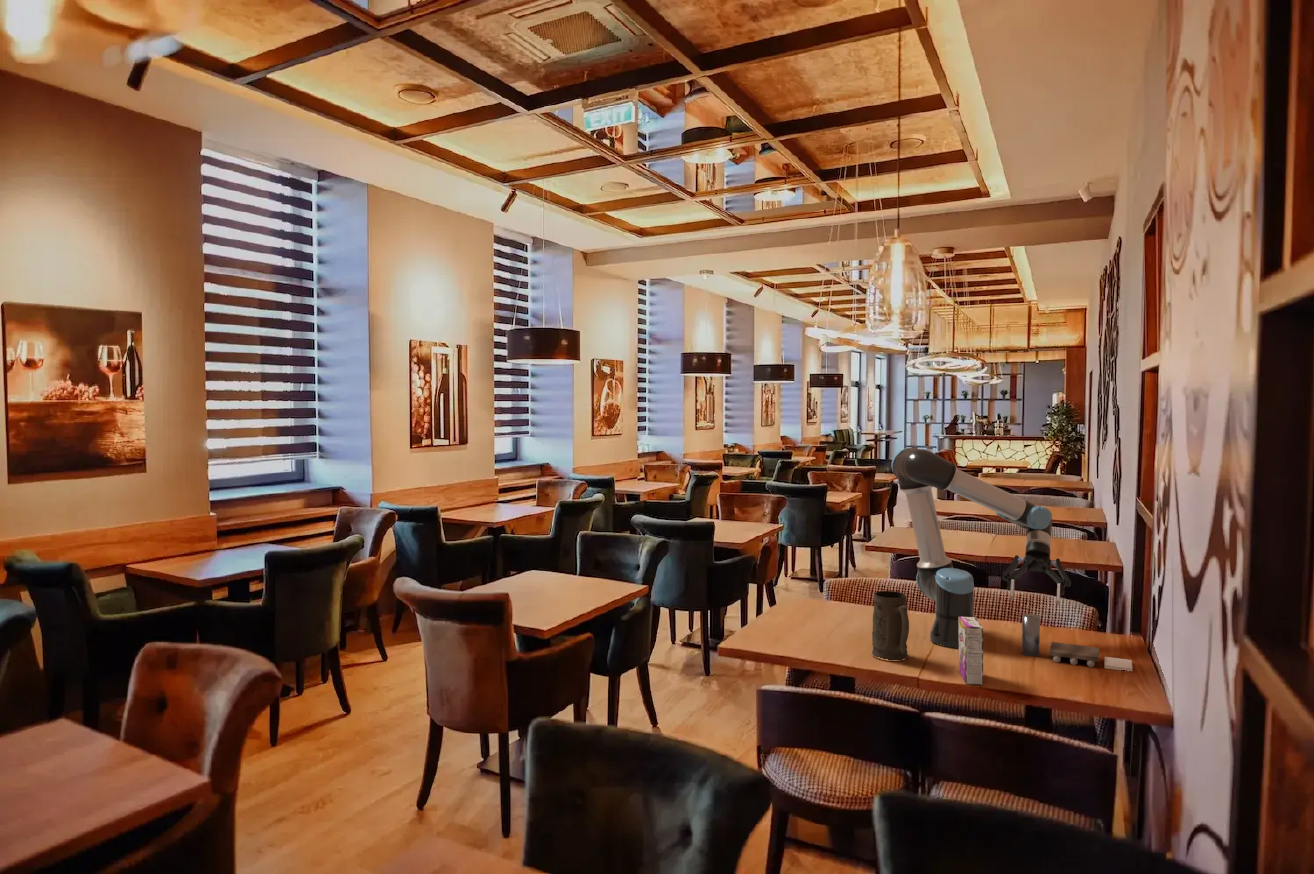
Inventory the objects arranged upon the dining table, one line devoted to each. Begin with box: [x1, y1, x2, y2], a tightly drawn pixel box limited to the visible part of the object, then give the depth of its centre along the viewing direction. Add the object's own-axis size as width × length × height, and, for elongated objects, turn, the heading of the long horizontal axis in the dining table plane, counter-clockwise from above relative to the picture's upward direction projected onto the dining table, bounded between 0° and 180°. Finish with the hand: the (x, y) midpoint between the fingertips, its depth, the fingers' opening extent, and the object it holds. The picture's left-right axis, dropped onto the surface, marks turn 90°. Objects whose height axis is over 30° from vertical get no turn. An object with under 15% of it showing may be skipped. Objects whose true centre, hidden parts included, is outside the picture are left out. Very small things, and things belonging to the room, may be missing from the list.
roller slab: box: [1048, 641, 1100, 668], centre depth 236 cm, size 13×11×3 cm
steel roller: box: [1021, 613, 1041, 658], centre depth 242 cm, size 5×5×12 cm
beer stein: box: [871, 590, 910, 660], centre depth 238 cm, size 15×11×20 cm
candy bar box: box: [958, 616, 984, 686], centre depth 220 cm, size 11×5×16 cm, turn 168°
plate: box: [1104, 656, 1133, 672], centre depth 230 cm, size 7×9×1 cm
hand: (1034, 600), depth 250 cm, fingers open, 13 cm apart
